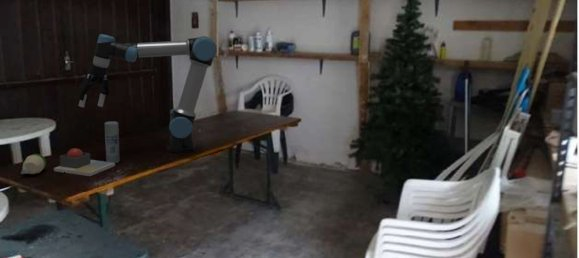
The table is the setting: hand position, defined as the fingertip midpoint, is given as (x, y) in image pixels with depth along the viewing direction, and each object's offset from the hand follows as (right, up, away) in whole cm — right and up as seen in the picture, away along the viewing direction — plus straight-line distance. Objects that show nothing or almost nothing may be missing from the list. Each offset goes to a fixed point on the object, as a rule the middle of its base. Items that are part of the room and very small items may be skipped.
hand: (90, 106), depth 247 cm
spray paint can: (+11, -28, 0) cm, 30 cm away
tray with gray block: (+2, -30, -13) cm, 33 cm away
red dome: (-2, -27, -13) cm, 30 cm away
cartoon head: (-17, -32, -21) cm, 42 cm away
